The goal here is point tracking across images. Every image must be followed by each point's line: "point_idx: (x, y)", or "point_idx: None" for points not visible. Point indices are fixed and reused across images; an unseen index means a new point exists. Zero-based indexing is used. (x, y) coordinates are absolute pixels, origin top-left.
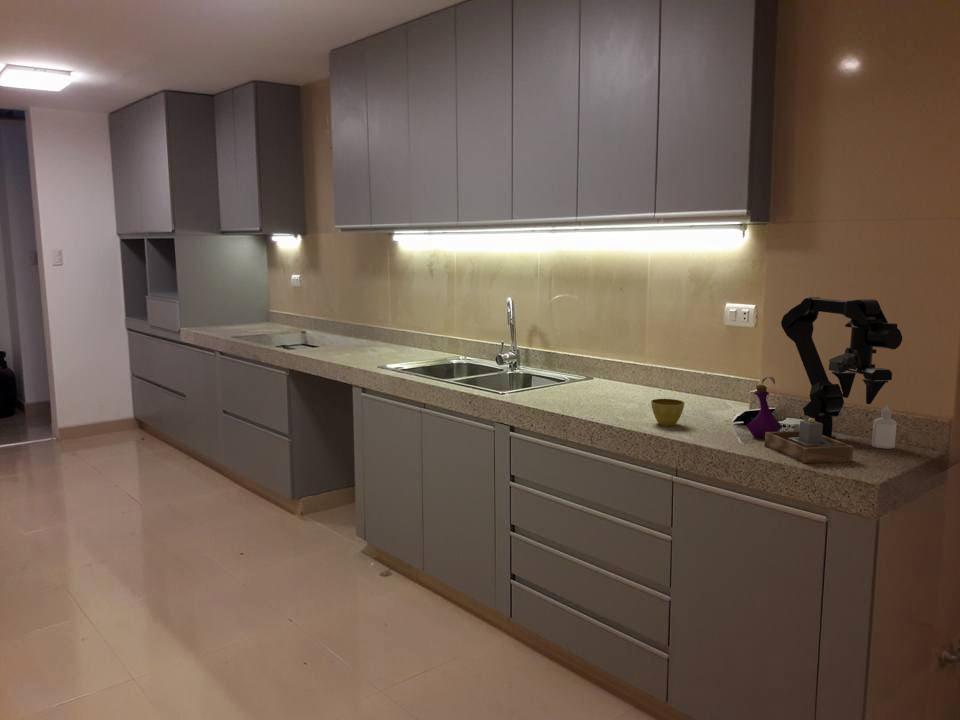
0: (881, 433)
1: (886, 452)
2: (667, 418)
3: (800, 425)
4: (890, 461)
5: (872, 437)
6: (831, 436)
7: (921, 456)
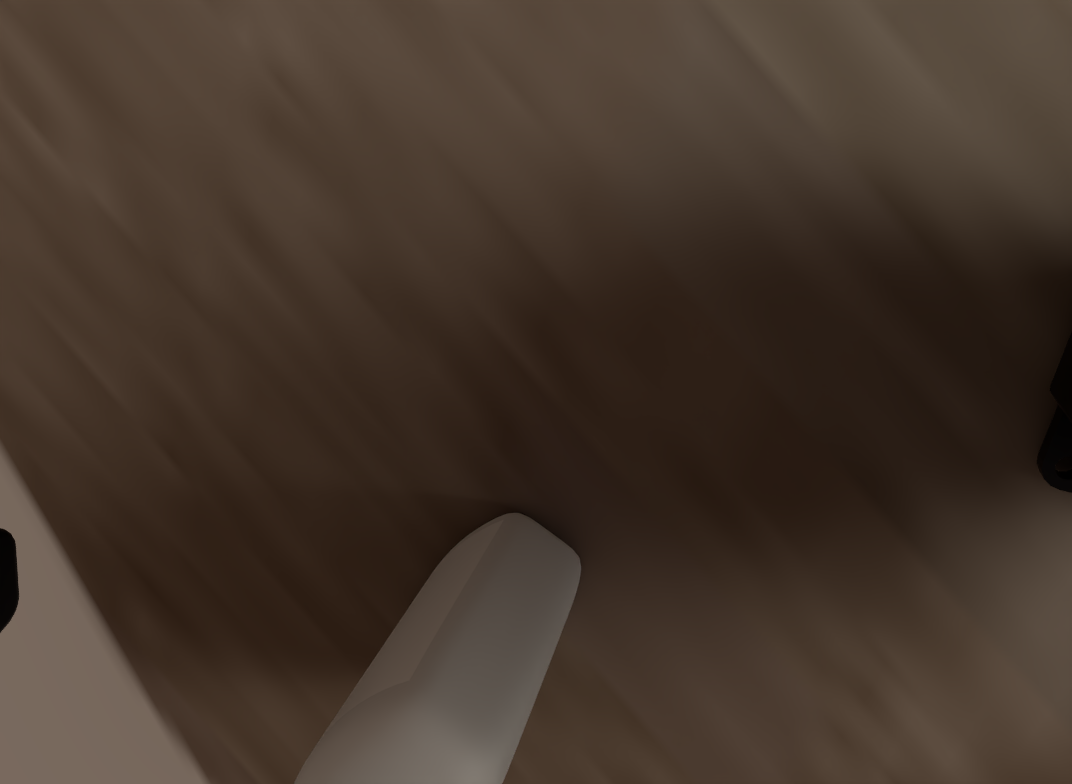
0: (406, 627)
1: (322, 442)
2: None
3: None
4: (29, 158)
5: (544, 588)
6: (1051, 391)
7: (142, 599)
